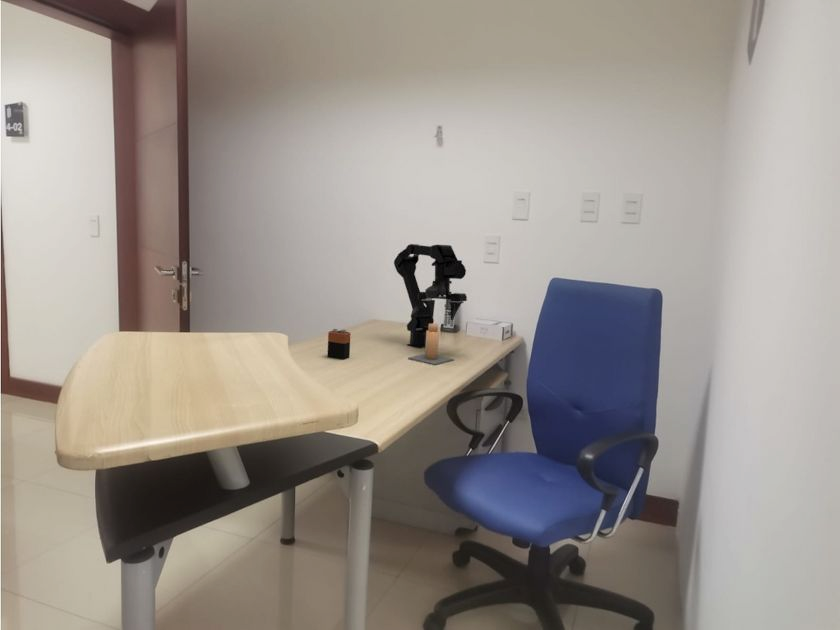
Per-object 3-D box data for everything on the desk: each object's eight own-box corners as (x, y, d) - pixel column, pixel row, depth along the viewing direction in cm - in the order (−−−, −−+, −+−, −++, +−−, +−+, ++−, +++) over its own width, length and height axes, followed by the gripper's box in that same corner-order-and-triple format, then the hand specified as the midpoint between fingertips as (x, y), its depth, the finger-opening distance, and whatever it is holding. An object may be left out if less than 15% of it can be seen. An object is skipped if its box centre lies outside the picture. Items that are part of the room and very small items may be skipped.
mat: (407, 358, 206) (407, 357, 206) (427, 354, 215) (427, 353, 215) (434, 365, 199) (435, 363, 199) (453, 360, 208) (454, 359, 208)
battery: (343, 359, 198) (345, 331, 197) (326, 357, 201) (327, 329, 199) (349, 357, 202) (351, 329, 201) (333, 354, 205) (334, 327, 203)
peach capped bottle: (422, 357, 208) (424, 323, 206) (433, 356, 210) (436, 323, 208) (428, 360, 204) (430, 325, 202) (439, 359, 206) (442, 325, 204)
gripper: (409, 277, 215) (409, 319, 217) (452, 279, 205) (451, 322, 206) (426, 277, 224) (425, 317, 226) (467, 278, 214) (466, 320, 215)
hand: (441, 319), depth 218 cm, fingers open, 9 cm apart
